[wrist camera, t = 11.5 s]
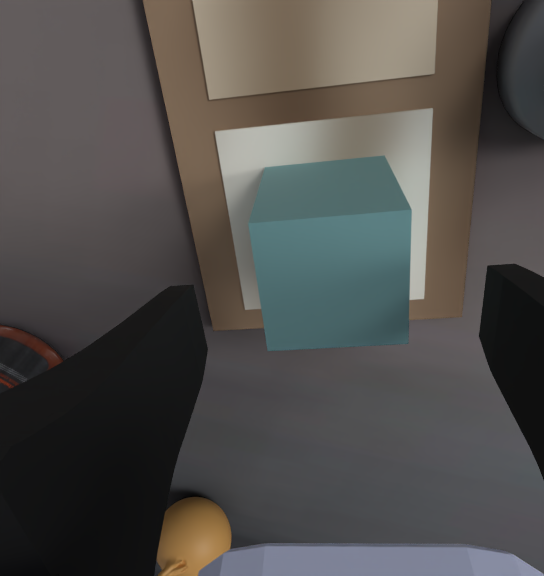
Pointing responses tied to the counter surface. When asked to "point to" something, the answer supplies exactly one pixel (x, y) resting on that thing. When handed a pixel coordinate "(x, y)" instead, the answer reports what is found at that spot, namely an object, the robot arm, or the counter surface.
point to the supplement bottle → (23, 357)
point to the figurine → (192, 536)
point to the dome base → (524, 67)
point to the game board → (323, 122)
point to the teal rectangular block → (332, 254)
